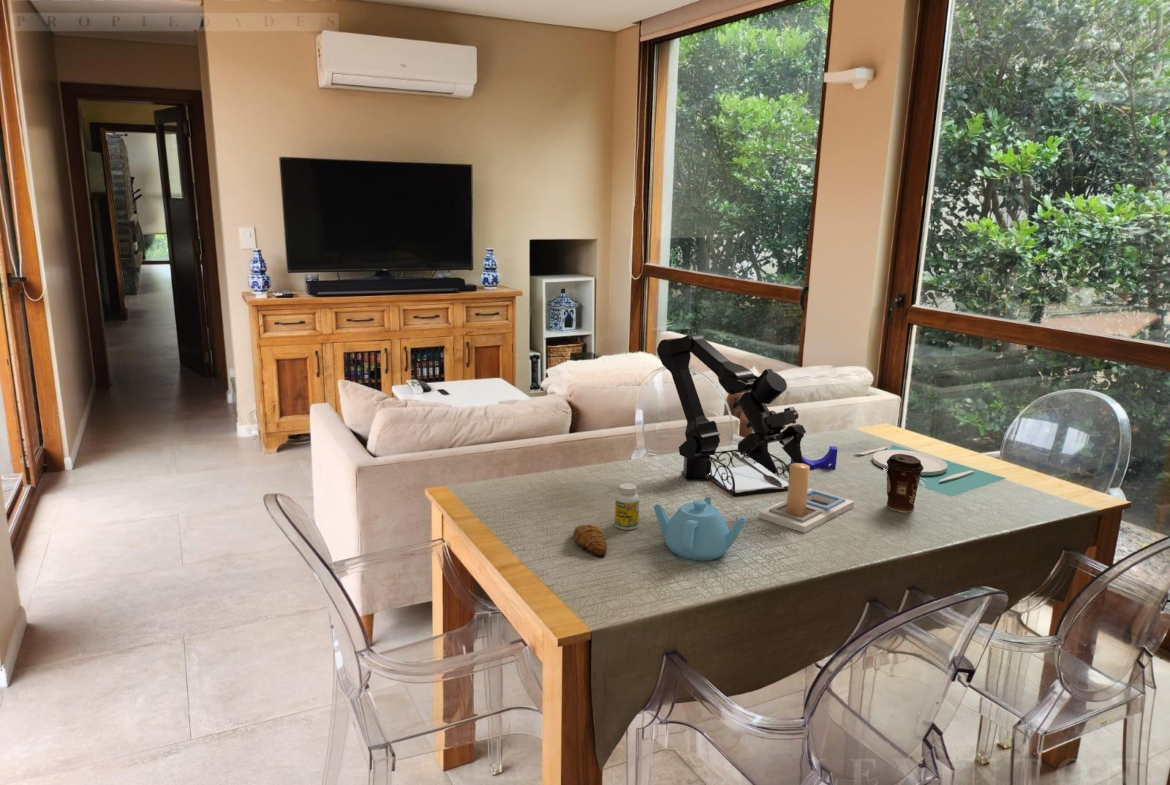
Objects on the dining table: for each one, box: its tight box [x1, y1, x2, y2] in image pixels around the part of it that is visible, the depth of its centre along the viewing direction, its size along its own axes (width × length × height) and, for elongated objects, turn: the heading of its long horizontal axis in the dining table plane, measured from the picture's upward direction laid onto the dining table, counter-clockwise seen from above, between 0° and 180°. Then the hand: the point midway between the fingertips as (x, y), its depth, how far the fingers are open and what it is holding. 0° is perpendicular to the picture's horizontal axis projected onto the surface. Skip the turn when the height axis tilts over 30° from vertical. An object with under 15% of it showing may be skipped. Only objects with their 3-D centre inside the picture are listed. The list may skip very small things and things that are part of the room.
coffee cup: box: [886, 454, 923, 514], centre depth 200 cm, size 9×8×13 cm
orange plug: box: [785, 463, 811, 518], centre depth 191 cm, size 4×4×13 cm
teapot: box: [653, 496, 748, 561], centre depth 173 cm, size 15×15×11 cm
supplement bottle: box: [614, 482, 640, 531], centre depth 184 cm, size 5×5×10 cm
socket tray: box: [758, 488, 855, 534], centre depth 197 cm, size 24×12×2 cm, turn 136°
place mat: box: [854, 444, 1007, 497], centre depth 235 cm, size 45×30×2 cm
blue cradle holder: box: [790, 445, 838, 471], centre depth 230 cm, size 12×4×6 cm, turn 85°
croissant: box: [572, 524, 608, 558], centre depth 174 cm, size 14×7×5 cm, turn 23°
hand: (789, 469), depth 193 cm, fingers open, 9 cm apart
